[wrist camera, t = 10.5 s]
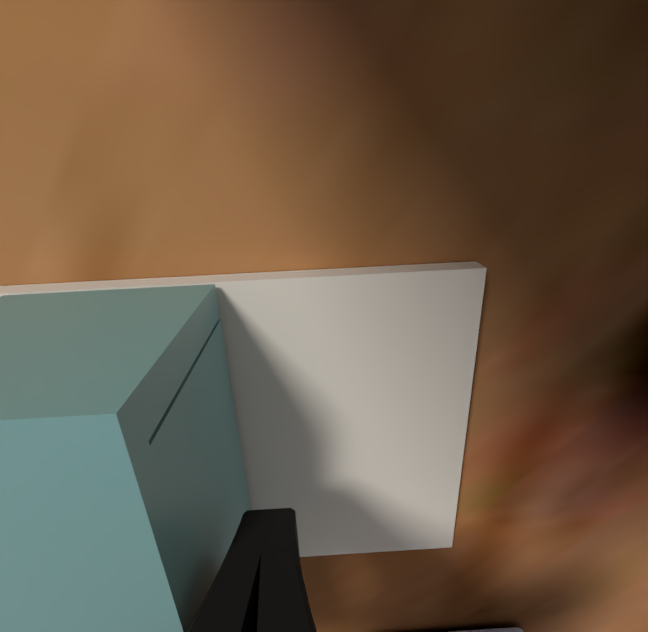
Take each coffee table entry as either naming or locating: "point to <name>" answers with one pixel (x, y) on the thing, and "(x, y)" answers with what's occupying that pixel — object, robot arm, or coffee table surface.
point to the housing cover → (115, 459)
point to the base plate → (347, 394)
